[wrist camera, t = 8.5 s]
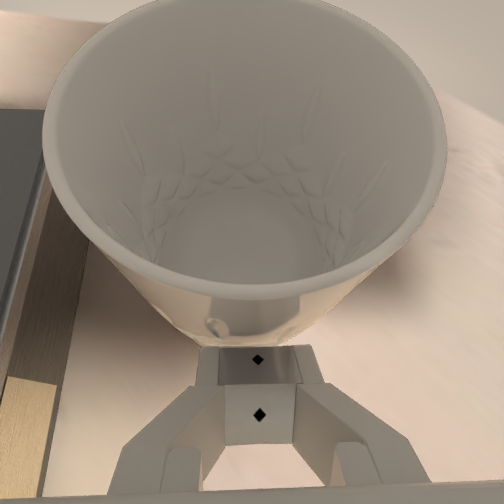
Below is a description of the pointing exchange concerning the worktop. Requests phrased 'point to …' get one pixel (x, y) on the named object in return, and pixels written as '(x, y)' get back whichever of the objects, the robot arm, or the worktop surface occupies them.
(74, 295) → the long dark grey beam
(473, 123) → the worktop surface
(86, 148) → the white cup
